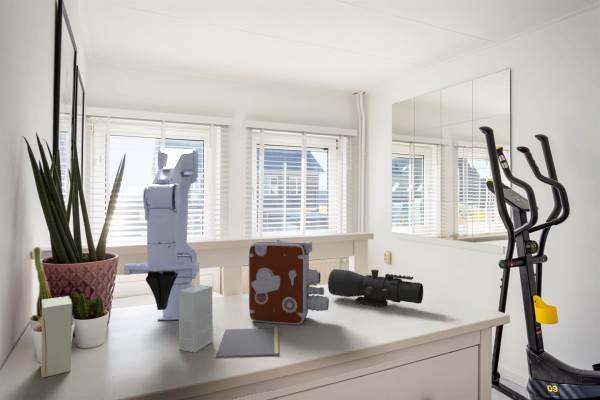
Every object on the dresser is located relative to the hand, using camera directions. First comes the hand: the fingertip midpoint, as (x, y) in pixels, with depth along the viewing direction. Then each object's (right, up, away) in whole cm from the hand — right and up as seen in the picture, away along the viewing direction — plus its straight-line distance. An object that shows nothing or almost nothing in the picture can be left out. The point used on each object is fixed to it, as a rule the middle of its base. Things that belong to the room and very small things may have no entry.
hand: (162, 308), depth 73 cm
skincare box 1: (-16, -8, -9) cm, 20 cm away
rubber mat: (+18, -8, +2) cm, 20 cm away
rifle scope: (+50, -8, +29) cm, 58 cm away
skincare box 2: (+7, -8, +1) cm, 11 cm away
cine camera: (+26, -8, +16) cm, 31 cm away
